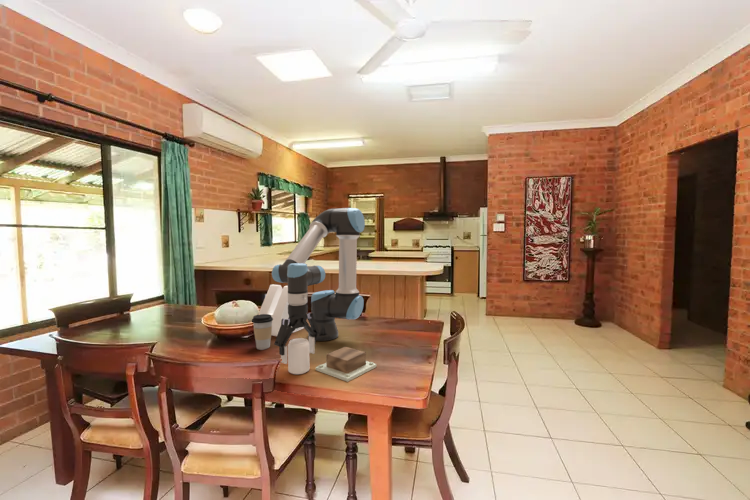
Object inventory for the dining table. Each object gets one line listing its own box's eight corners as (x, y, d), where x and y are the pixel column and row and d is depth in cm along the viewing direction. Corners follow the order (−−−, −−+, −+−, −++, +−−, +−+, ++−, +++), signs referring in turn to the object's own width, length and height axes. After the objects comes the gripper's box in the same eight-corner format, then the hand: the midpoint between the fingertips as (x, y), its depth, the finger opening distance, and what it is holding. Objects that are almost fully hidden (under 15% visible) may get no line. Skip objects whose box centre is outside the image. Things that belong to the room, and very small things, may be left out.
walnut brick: (326, 366, 137) (326, 354, 137) (345, 358, 146) (345, 346, 145) (347, 373, 130) (347, 360, 130) (365, 364, 139) (365, 352, 139)
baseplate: (315, 370, 136) (315, 365, 136) (345, 357, 150) (345, 353, 150) (347, 381, 126) (347, 376, 126) (376, 366, 139) (376, 362, 139)
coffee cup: (277, 345, 165) (277, 314, 164) (265, 352, 156) (264, 319, 155) (260, 343, 168) (260, 313, 167) (247, 350, 159) (247, 317, 158)
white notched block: (284, 325, 200) (283, 282, 198) (306, 328, 193) (305, 284, 191) (259, 334, 183) (258, 287, 181) (281, 338, 176) (280, 289, 174)
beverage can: (290, 367, 139) (289, 337, 139) (310, 366, 140) (310, 337, 139) (286, 375, 131) (286, 344, 131) (308, 375, 132) (308, 344, 131)
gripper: (276, 310, 122) (277, 370, 123) (328, 299, 142) (328, 351, 143) (264, 307, 126) (264, 365, 128) (315, 297, 146) (315, 347, 147)
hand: (298, 357), depth 135 cm, fingers open, 13 cm apart
